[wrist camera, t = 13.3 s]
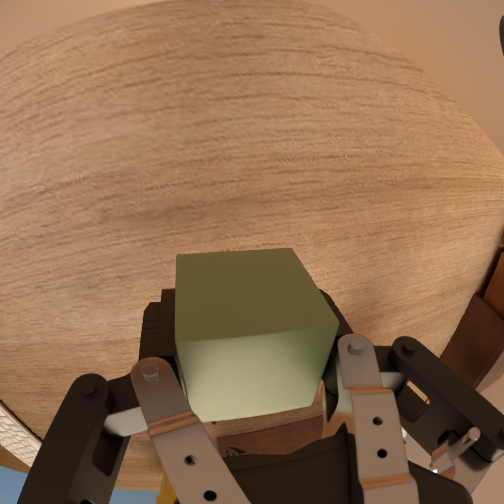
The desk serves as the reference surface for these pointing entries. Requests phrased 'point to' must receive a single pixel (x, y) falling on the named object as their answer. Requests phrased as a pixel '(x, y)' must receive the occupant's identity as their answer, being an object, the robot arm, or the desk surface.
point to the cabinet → (477, 345)
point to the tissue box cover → (273, 439)
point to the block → (250, 332)
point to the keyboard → (17, 437)
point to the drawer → (497, 287)
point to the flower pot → (166, 492)
